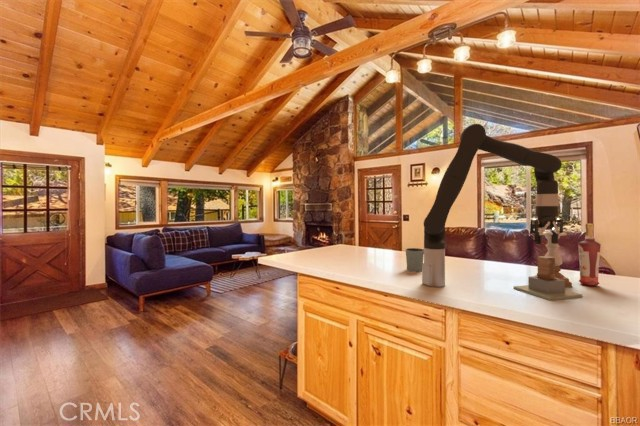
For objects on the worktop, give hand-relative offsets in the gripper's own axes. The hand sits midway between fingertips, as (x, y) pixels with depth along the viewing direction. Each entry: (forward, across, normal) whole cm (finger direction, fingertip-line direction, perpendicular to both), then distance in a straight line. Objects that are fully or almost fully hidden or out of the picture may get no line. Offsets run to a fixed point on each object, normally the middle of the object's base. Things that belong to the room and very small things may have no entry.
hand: (546, 243), depth 119 cm
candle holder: (+21, +17, +11) cm, 29 cm away
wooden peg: (+20, 0, 0) cm, 20 cm away
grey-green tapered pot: (+21, -30, +52) cm, 64 cm away
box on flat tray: (+20, 0, 0) cm, 21 cm away
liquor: (+21, +29, +4) cm, 36 cm away
